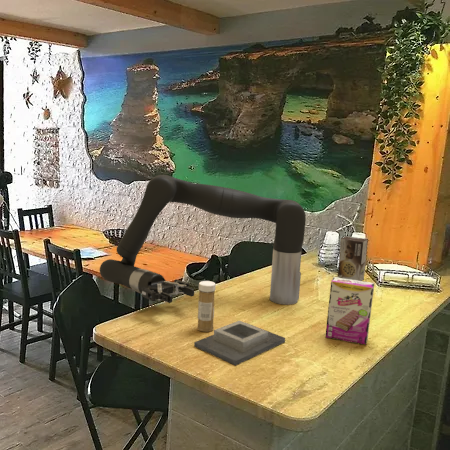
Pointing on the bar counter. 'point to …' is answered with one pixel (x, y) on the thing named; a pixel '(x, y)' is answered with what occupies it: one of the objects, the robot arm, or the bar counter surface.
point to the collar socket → (238, 342)
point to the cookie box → (352, 258)
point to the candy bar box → (349, 310)
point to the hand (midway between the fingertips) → (182, 296)
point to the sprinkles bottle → (206, 306)
